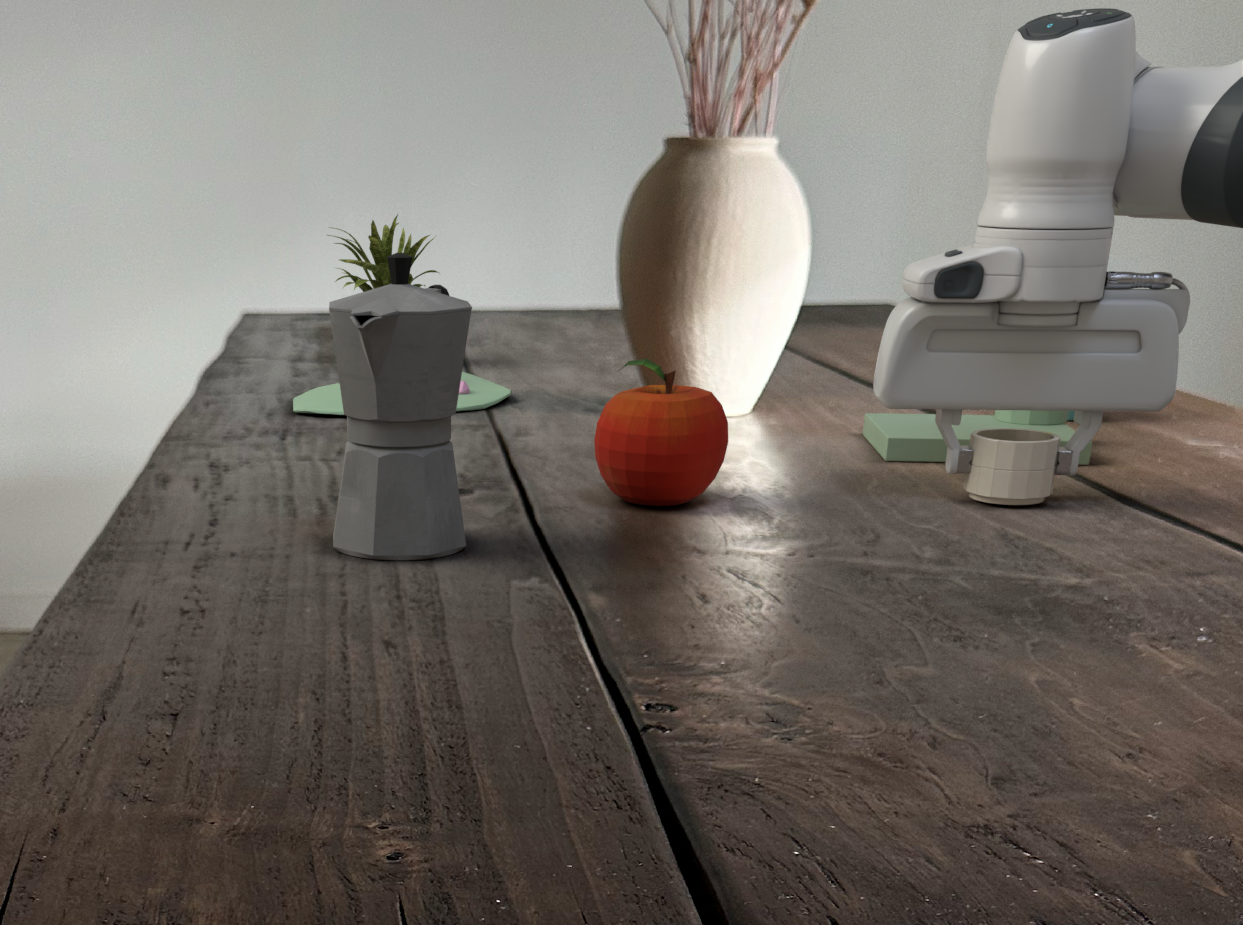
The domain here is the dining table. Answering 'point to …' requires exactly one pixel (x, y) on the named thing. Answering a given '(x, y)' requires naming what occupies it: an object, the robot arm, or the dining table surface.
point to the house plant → (380, 256)
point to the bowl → (1012, 466)
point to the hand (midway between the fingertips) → (1009, 473)
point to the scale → (925, 443)
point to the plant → (470, 397)
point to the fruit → (661, 441)
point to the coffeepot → (399, 418)
